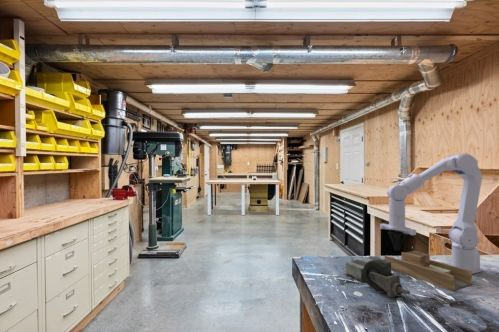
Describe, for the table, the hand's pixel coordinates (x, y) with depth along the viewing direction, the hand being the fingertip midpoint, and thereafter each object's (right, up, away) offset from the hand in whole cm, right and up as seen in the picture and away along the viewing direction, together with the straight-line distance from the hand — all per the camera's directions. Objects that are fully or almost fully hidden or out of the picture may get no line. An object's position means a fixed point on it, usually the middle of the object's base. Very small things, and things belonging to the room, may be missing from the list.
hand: (397, 249), depth 117 cm
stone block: (-15, -7, -9) cm, 19 cm away
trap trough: (+5, -6, -10) cm, 13 cm away
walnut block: (+4, -3, -7) cm, 9 cm away
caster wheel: (-16, -7, -24) cm, 30 cm away
